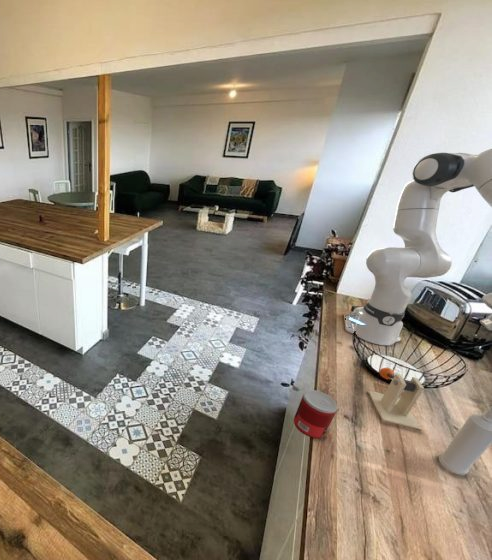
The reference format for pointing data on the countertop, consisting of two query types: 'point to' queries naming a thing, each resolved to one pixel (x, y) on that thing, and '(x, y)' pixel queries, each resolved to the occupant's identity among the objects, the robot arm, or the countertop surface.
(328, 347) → the countertop surface
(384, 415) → the switch base
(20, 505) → the countertop surface
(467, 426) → the bottle
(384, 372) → the switch lever
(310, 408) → the canned food
